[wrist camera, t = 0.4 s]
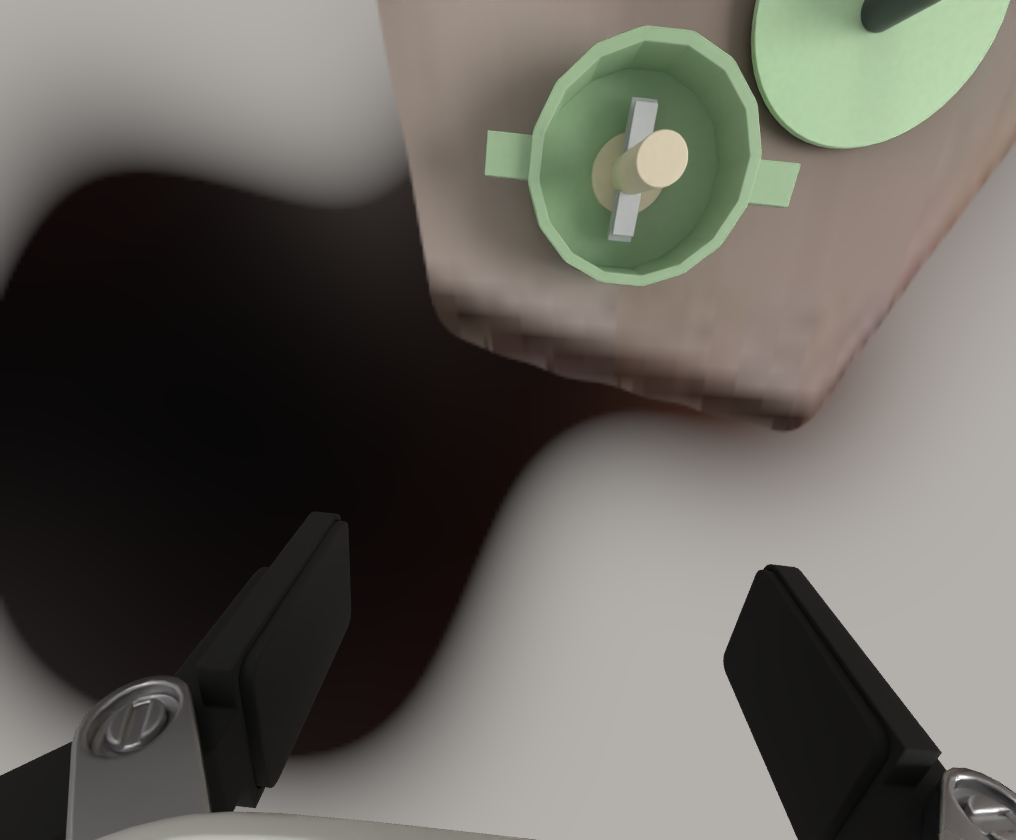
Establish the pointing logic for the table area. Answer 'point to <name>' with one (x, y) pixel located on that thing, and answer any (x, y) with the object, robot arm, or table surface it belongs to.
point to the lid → (865, 63)
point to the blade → (636, 168)
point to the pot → (681, 108)
